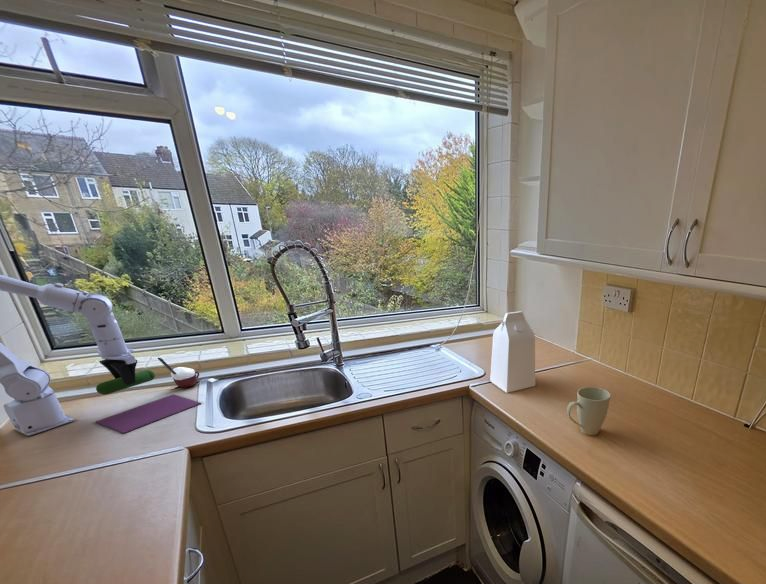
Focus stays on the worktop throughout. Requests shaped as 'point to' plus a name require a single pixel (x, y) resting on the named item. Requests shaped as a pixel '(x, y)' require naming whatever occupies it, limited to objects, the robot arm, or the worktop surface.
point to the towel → (147, 413)
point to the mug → (590, 409)
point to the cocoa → (182, 375)
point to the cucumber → (120, 385)
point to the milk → (513, 354)
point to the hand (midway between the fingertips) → (126, 382)
